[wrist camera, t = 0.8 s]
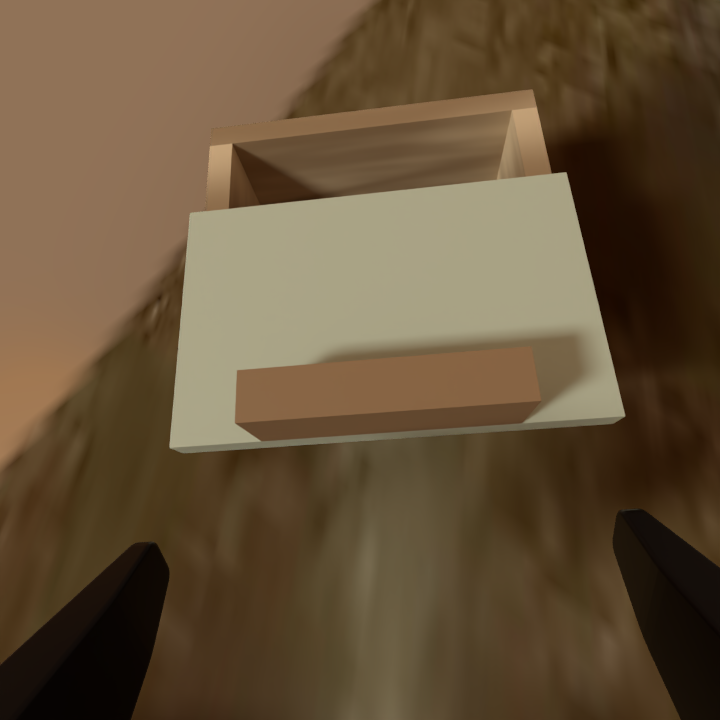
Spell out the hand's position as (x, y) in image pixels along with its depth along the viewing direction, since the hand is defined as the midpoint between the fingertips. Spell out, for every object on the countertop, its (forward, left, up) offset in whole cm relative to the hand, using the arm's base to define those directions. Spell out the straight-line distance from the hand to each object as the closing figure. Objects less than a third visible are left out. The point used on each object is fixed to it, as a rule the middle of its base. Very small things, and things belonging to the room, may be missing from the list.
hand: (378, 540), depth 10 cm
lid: (+8, 0, -6) cm, 10 cm away
